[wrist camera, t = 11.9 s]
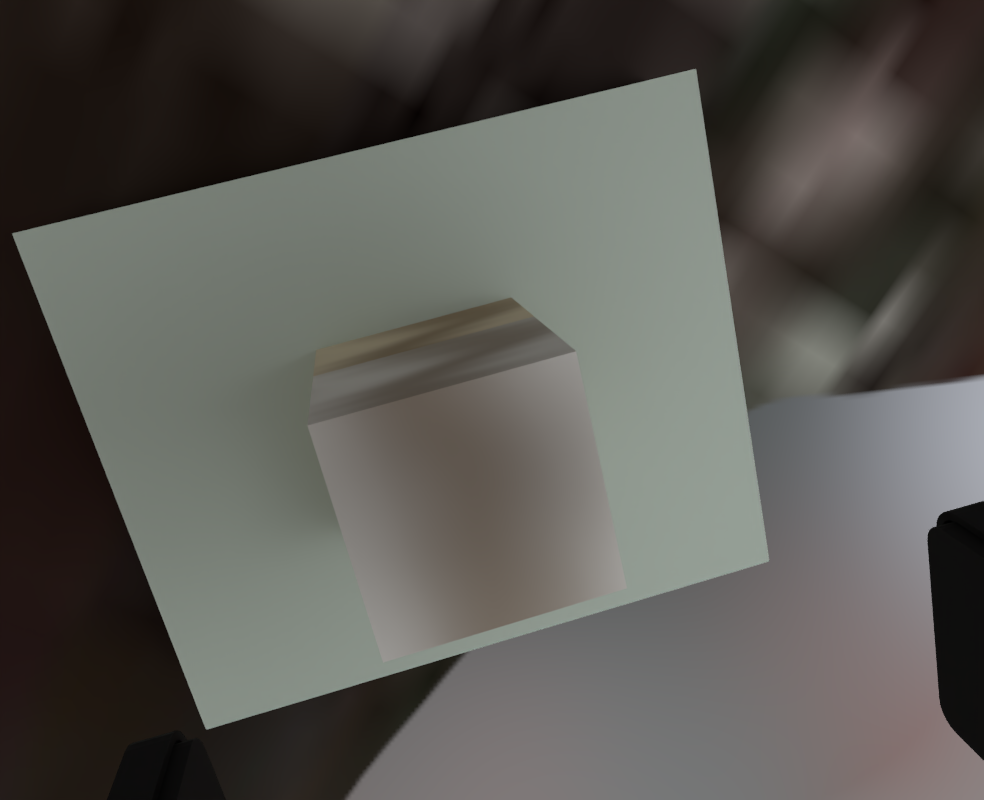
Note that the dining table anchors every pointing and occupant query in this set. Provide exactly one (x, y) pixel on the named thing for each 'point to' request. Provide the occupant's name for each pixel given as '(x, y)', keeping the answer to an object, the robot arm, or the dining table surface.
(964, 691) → the robot arm
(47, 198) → the dining table surface
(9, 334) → the dining table surface
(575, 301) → the dock
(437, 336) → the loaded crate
